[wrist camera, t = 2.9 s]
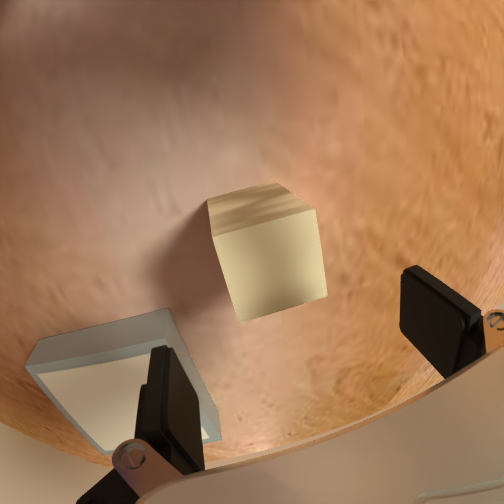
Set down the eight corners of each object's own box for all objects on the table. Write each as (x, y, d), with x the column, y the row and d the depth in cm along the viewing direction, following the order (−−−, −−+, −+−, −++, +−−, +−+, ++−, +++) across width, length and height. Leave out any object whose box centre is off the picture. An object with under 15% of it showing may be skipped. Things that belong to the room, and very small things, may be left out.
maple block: (275, 181, 22) (314, 208, 14) (288, 243, 24) (327, 295, 17) (206, 199, 21) (212, 237, 14) (225, 261, 23) (238, 323, 16)
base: (167, 307, 24) (164, 338, 20) (218, 410, 30) (222, 440, 26) (39, 339, 23) (23, 367, 19) (106, 428, 29) (102, 455, 25)
